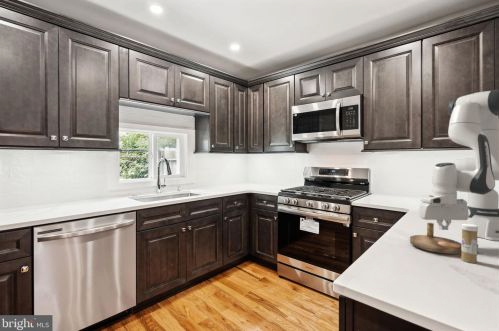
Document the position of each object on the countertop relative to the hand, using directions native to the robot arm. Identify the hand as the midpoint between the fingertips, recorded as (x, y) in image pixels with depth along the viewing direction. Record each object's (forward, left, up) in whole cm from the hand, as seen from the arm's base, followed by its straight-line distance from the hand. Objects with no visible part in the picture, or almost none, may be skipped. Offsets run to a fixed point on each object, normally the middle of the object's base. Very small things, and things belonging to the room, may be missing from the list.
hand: (443, 229), depth 112 cm
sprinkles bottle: (-1, +21, -7) cm, 22 cm away
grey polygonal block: (-6, +9, -6) cm, 13 cm away
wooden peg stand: (+6, +9, -6) cm, 13 cm away
